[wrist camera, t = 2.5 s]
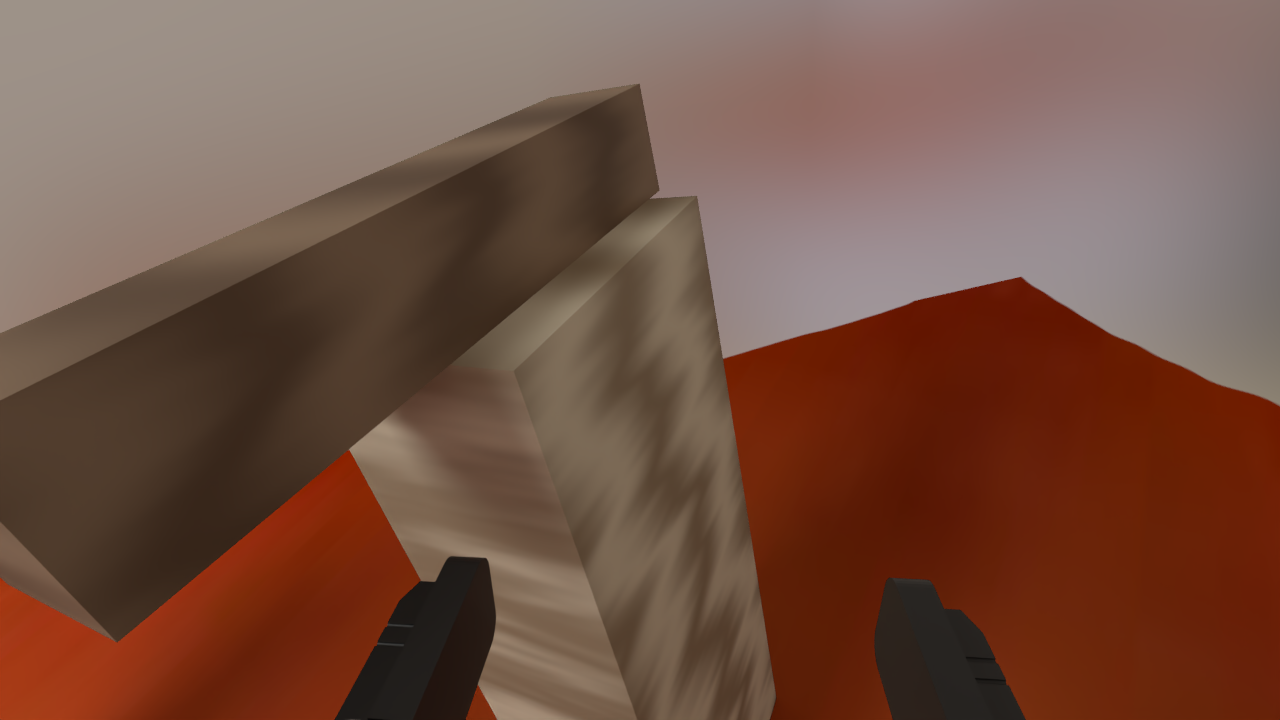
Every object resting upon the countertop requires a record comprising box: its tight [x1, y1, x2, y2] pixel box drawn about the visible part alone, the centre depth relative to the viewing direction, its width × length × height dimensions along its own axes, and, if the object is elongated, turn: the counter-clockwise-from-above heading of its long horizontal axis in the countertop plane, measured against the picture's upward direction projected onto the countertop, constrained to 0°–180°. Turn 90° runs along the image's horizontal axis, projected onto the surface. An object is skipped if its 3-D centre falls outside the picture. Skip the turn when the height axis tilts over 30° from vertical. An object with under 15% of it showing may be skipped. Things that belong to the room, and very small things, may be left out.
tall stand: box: [349, 196, 776, 720], centre depth 29 cm, size 12×8×32 cm, turn 154°
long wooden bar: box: [0, 84, 659, 642], centre depth 17 cm, size 21×4×4 cm, turn 154°
